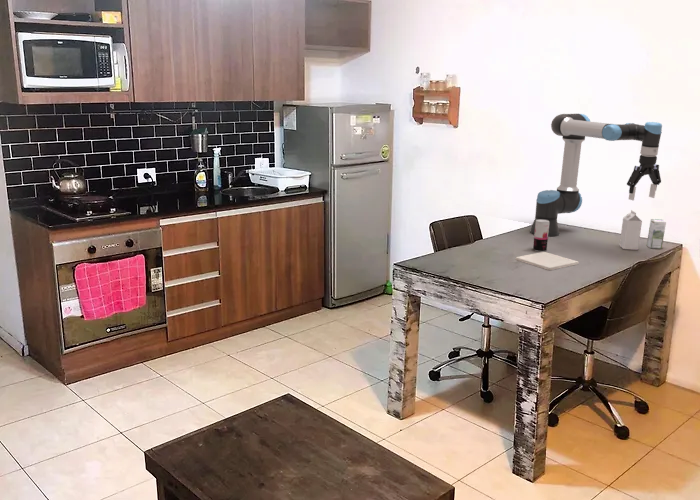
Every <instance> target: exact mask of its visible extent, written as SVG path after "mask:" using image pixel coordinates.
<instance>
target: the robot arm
mask: <svg viewBox="0 0 700 500" xmlns="http://www.w3.org/2000/svg"><path fill="white" fill-rule="evenodd" d="M550 127H551V130H552V132H553V134H555V135H556V136H559V137H562V140H563V141H564V148H563V156H562V165H561V166H562V167H561V175H560V176H561V177H560V183H559V186H558V187H556V190H553V189H550V190H548V189H546V190H542V191H540V192H538V193H537V197H536V204H535V214H534V215H535V216H534V220H533V222H532V225H531V227H530V234H533V235H534V233H535V223H536V220H539V219H542V220H548V221H549V232H548V237H557V236H559V235H560V229H559V224H558V215H560V214H571V213H575V212H577V211H578V210H579V209H580V208H581V207H582V204H583V197H582V194H581V193H580V192H579V191H580V189H579V188H578V187H577V185H578V175H579V167H580V158H581V150H582V143H583V142H585V140H586V137H587V138H595V139H603V140H605V141H609V142H612V141H613V142H615V141H638V142H641V147H640V153H639V154H640V155H639V159H638V163H639V166H638V165H634V167H633V171H632V172H631V174H630V177H629V178H628V180H627V182H626V186H628V187H629V190H628V200H630V201H635V197H636V190H637V187H636V185H637V184H638V183H639V182H640V180H641V179H642V178H643V177H644V176H646V175H648V176H649V179H650V180H651V182H652V183H651V184H650V187H649V194H648V197H649V198H651V199H655V197H656V191H657V187H658V186H659V185H660V184H661V183H662V179H661V174H660V165H659V164H657V160H658V157H657V156H658V153H659V147H660V142H661V135H662V131H663V130H662V129H663V125H662V123H660V122H658V121H657V122H655V121H647V122H645V124H644V125H642V124H639V123H637V124H636V123H633V122H632V123H631V122H627V123H623V124H617V123H607V122H599V121H598V122H597V121H591V120H590V118H589V116H587V115H586V114H585V113H560V114H557V115H556V116H555V117H554V118H553V119H552V121H551V124H550Z"/></svg>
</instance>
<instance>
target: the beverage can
mask: <svg viewBox="0 0 700 500" xmlns="http://www.w3.org/2000/svg"><path fill="white" fill-rule="evenodd" d="M548 232H549V221H548V220H542V219H539V220H536V223H535V233H534V234H533V246H532V249H533V250H534V251H535V252H538V253H540V252H546V251H547V250H548V242H549V241H548V240H549V236H548Z"/></svg>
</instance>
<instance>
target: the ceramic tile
mask: <svg viewBox="0 0 700 500" xmlns="http://www.w3.org/2000/svg"><path fill="white" fill-rule="evenodd" d="M515 261H518V262H522V263H526V264H527V265H532V266H534V267H538V268H541V269H544V270H547V271H554V270H558V269H563V268H568V267H572V266H577V265H579V261H578V260H574V259H570V258H567V257H564V256H560V255H557V254H553V253H551V252H546V251H544V252H534V253H530V254H525V255H521V256H520V255H519V256H516V257H515Z"/></svg>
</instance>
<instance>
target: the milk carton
mask: <svg viewBox="0 0 700 500" xmlns="http://www.w3.org/2000/svg"><path fill="white" fill-rule="evenodd" d="M642 223H643V220H642V219H641V218H639V216H637V212H636V211H633V210H632V209H631V210H630V212H629V213H627V214H626V215H625V216H623V218H622V224H621V229H620V230H621V233H620V240H619V247H620V248H621V249H623V250H632V251H633V250H639V245H640V239H641V230H642Z"/></svg>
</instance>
